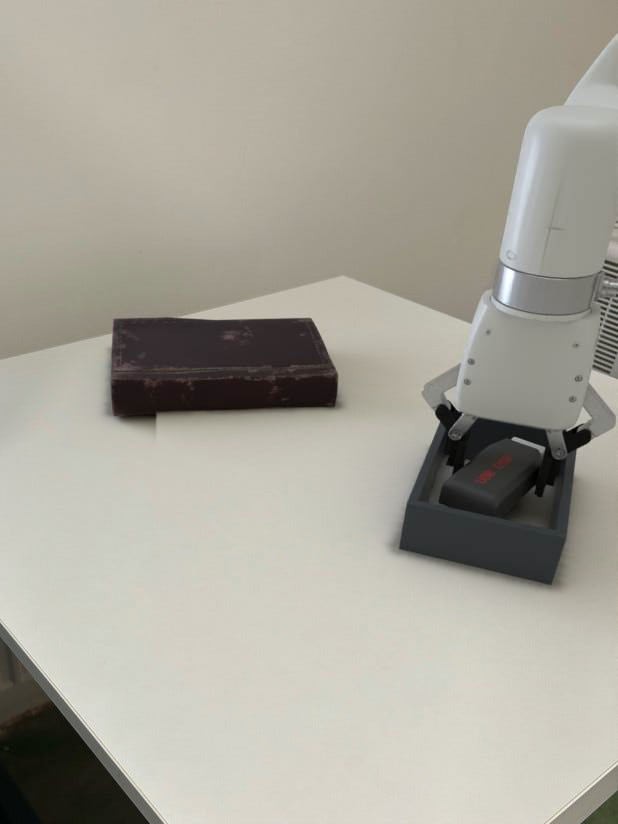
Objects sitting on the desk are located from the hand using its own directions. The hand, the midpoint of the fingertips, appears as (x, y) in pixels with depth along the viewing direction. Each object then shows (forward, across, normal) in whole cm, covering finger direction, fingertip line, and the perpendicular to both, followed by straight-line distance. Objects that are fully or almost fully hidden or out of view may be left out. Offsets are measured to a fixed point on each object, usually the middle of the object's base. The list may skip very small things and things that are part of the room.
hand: (497, 479), depth 75 cm
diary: (+4, +34, -16) cm, 38 cm away
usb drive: (+1, 0, 0) cm, 1 cm away
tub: (+4, 0, 0) cm, 4 cm away
